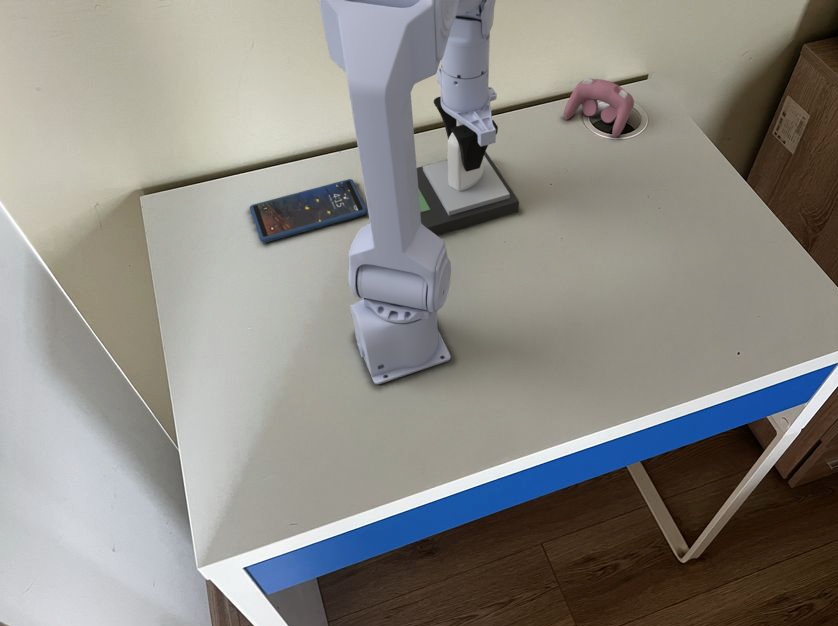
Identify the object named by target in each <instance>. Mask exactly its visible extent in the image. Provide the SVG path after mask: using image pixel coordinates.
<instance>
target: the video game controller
mask: <svg viewBox="0 0 838 626" xmlns="http://www.w3.org/2000/svg"><path fill="white" fill-rule="evenodd" d="M598 101H599V102H602V103H604V104H607V106H605V107H604V108H603V109H602V110H601V112H600V118H601V121H602V122H604V123H606V124H611V123H613V122H614V124H613V125H612V132H611V133H612V134H611V135H612V137H613V138H617V137H619V136H620V134H621V133H622V132H623V130H624V129H625V126H626V124H627V121H628V119H629V118H630V114H631V112H632V110H633V109H634V106H635V99H634V97H633V95H631V94H630V93H629V92H628V91H626V90H625V88H623V87H622V86H620V85H618V84H617V83H614V82H612V81H609V80H607V79H602V78H601V79H599V78H587V79H584V80H582V81H581V80H580V82H578V84H577V85H576V86H575V88H574V89H573V91H572V93H571V95H570V97H569V98H568V100H567V103H566V105H565V108H564V110H563V119H564V120H566V121H567V120H569V119H571V118H572V117H573V116H574V114H575V113H576V112H577V110H578V109H579V107H580V106H582V113H583V114H584V115H585V116H588V117H592V116H596V115H597V113H598V112H599V110H600V109H599V108H600V107H599V103H598Z"/></svg>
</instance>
